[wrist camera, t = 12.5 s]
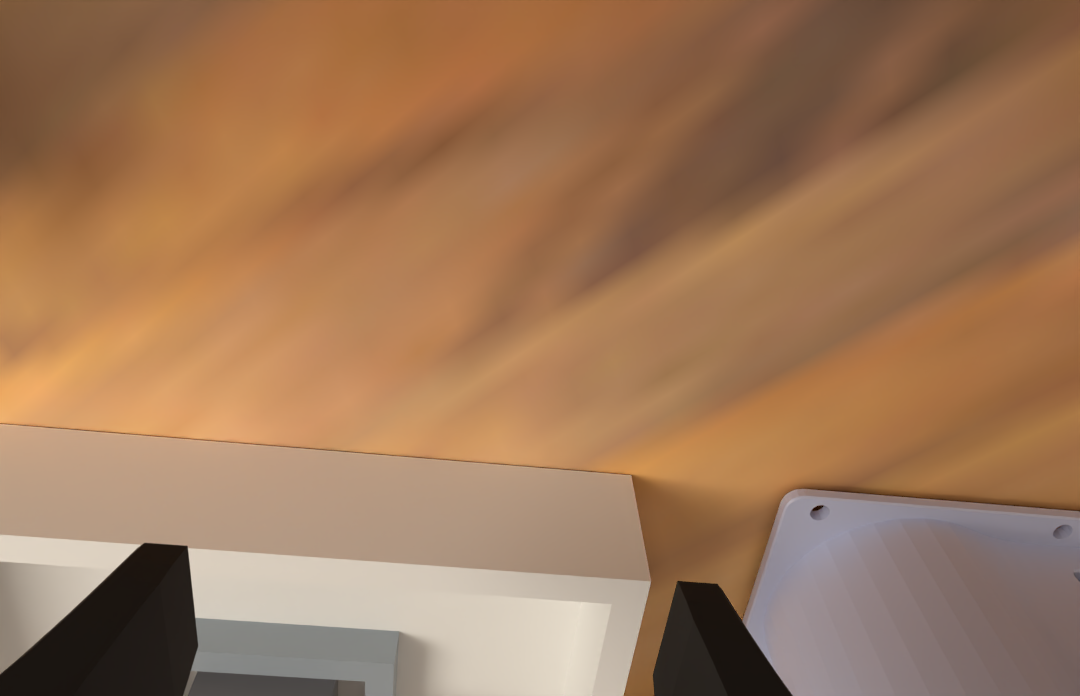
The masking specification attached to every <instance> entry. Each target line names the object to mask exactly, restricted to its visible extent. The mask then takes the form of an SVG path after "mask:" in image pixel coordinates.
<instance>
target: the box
mask: <svg viewBox="0 0 1080 696" xmlns="http://www.w3.org/2000/svg"><path fill="white" fill-rule="evenodd" d="M143 543H156V544H170V545H183V546H188V553H189V563H190V572H191V582H192V591H193V601H194V610H195V619H196V629H197V638H198V649H197V652H196V655H195V659H194V662H193V665H192V669H191V672H190V675H189V679H188V682H187V685H186V688H185V691H184V694H183V696H188V694H189V691H190V689H191V686H192V684H193V681H194V679H195V676H196V674H197V671H201V672H217V673H234V674H250V675H266V676H283V677H299V678H315V679H332V680H338V696H624V692H625V687H626V683H627V679H628V675H629V671H630V667H631V663H632V659H633V654H634V650H635V646H636V642H637V638H638V634H639V630H640V626H641V622H642V617H643V613H644V609H645V605H646V601H647V597H648V593H649V589H650V585H651V578H650V572H649V567H648V562H647V556H646V551H645V545H644V540H643V535H642V529H641V524H640V519H639V513H638V508H637V503H636V497H635V492H634V487H633V481H632V476H631V475H623V474H610V473H598V472H586V471H574V470H561V469H549V468H537V467H524V466H512V465H500V464H488V463H475V462H463V461H451V460H438V459H426V458H414V457H402V456H389V455H377V454H365V453H353V452H340V451H328V450H316V449H303V448H291V447H279V446H267V445H254V444H242V443H230V442H217V441H205V440H193V439H181V438H168V437H156V436H144V435H131V434H119V433H107V432H95V431H82V430H70V429H58V428H45V427H33V426H21V425H9V424H0V674H1V673H2V672H3V671H4V670H6V669H7V668H8V667H9V666H10V665H12V664H13V663H14V662H15V661H16V660H17V659H19V658H20V657H21V656H22V655H23V654H24V653H25V652H26V651H28V650H29V649H30V648H31V647H32V646H33V645H34V644H35V643H36V642H38V641H39V640H40V639H41V638H42V637H43V636H44V635H45V634H47V633H48V632H49V631H50V630H51V629H52V628H53V627H54V626H55V625H57V624H58V623H59V622H60V621H61V620H62V619H63V618H64V617H65V616H66V615H68V614H69V613H70V612H71V611H72V610H73V609H74V608H75V607H76V606H77V605H78V604H79V603H80V602H81V601H82V600H84V599H85V598H86V597H87V596H88V595H89V594H90V593H91V592H92V591H93V590H94V589H95V588H96V587H97V586H98V585H99V584H100V583H101V582H103V581H104V580H105V579H106V578H107V577H108V576H109V575H110V574H111V573H112V572H113V571H114V570H115V569H116V568H117V567H118V566H119V565H120V564H121V563H122V562H123V561H124V560H125V559H126V558H127V557H129V556H130V555H131V554H132V553H133V552H134V551H135V550H136V549H137V548H138V547H139V546H141V545H142V544H143Z"/></svg>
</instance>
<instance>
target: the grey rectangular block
mask: <svg viewBox="0 0 1080 696" xmlns="http://www.w3.org/2000/svg"><path fill="white" fill-rule="evenodd" d="M188 696H338V680H332V679H315V678H299V677H283V676H266V675H250V674H234V673H217V672H201V671H197V674H196V676H195V679H194V681H193V684H192V686H191V689H190V691H189V694H188Z"/></svg>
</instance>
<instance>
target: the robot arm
mask: <svg viewBox="0 0 1080 696" xmlns="http://www.w3.org/2000/svg"><path fill="white" fill-rule="evenodd" d="M819 505H824V506H823V507H822V508H821V509H819V510H816V511H811V510H812V509H813V508H814V507H816V506H819ZM1061 525H1062V526H1061ZM1059 526H1061V527H1060V528H1058V529H1056V528H1057V527H1059ZM197 649H198V638H197V629H196V619H195V610H194V601H193V591H192V582H191V572H190V563H189V553H188V546H183V545H170V544H156V543H143V544H142V545H141V546H139V547H138V548H137V549H136V550H135V551H134V552H133V553H132V554H131V555H130V556H129V557H127V558H126V559H125V560H124V561H123V562H122V563H121V564H120V565H119V566H118V567H117V568H116V569H115V570H114V571H113V572H112V573H111V574H110V575H109V576H108V577H107V578H106V579H105V580H104V581H103V582H101V583H100V584H99V585H98V586H97V587H96V588H95V589H94V590H93V591H92V592H91V593H90V594H89V595H88V596H87V597H86V598H85V599H84V600H82V601H81V602H80V603H79V604H78V605H77V606H76V607H75V608H74V609H73V610H72V611H71V612H70V613H69V614H68V615H66V616H65V617H64V618H63V619H62V620H61V621H60V622H59V623H58V624H57V625H55V626H54V627H53V628H52V629H51V630H50V631H49V632H48V633H47V634H45V635H44V636H43V637H42V638H41V639H40V640H39V641H38V642H36V643H35V644H34V645H33V646H32V647H31V648H30V649H29V650H28V651H26V652H25V653H24V654H23V655H22V656H21V657H20V658H19V659H17V660H16V661H15V662H14V663H13V664H12V665H10V666H9V667H8V668H7V669H6V670H4V671H3V672H2V673H1V674H0V696H183V694H184V691H185V688H186V685H187V682H188V679H189V675H190V672H191V669H192V665H193V662H194V659H195V655H196V652H197ZM653 682H654V694H655V696H1080V511H1070V510H1057V509H1045V508H1033V507H1020V506H1008V505H996V504H984V503H971V502H959V501H947V500H935V499H922V498H910V497H898V496H885V495H873V494H861V493H849V492H836V491H824V490H812V489H796V490H793V491H791V492H789V493H787V494H786V495H785V496H784V497H783V499H782V500H781V503H780V506H779V509H778V512H777V515H776V518H775V521H774V524H773V527H772V531H771V534H770V537H769V540H768V543H767V546H766V549H765V552H764V555H763V559H762V562H761V565H760V568H759V571H758V574H757V577H756V580H755V583H754V587H753V590H752V593H751V596H750V599H749V602H748V605H747V608H746V611H745V615H744V618H743V621H742V620H741V619H740V617H739V616H738V614H737V612H736V611H735V609H734V608H733V606H732V605H731V603H730V601H729V600H728V598H727V597H726V595H725V594H724V592H723V590H722V589H721V588H720V587H719V586H718V584H710V583H696V582H682V581H678V582H677V585H676V589H675V593H674V597H673V601H672V604H671V608H670V612H669V616H668V620H667V623H666V627H665V631H664V635H663V639H662V642H661V646H660V650H659V654H658V658H657V661H656V665H655V669H654V673H653Z"/></svg>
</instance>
